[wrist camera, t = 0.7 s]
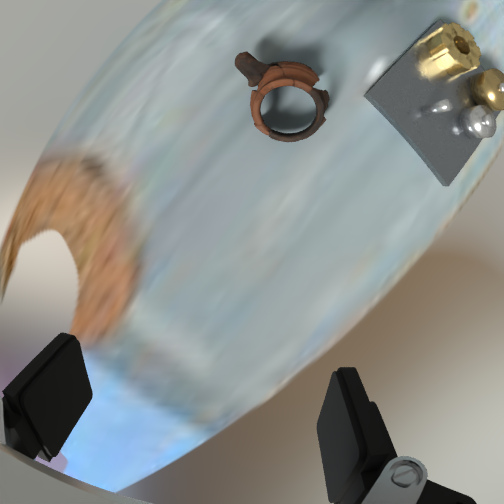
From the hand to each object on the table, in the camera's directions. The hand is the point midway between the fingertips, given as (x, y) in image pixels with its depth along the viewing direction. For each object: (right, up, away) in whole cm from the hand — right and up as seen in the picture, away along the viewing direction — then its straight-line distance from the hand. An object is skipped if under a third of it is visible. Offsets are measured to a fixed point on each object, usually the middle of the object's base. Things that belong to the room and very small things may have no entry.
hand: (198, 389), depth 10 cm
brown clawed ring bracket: (+5, +23, +23) cm, 33 cm away
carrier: (+28, +26, +21) cm, 44 cm away
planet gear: (+29, +32, +18) cm, 47 cm away
